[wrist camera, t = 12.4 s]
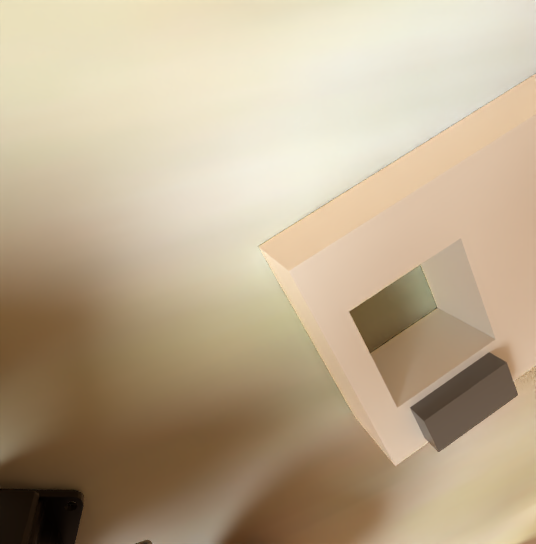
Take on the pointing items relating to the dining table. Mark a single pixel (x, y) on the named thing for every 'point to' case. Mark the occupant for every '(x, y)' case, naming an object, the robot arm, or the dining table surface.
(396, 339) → the socket board
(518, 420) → the dining table surface
